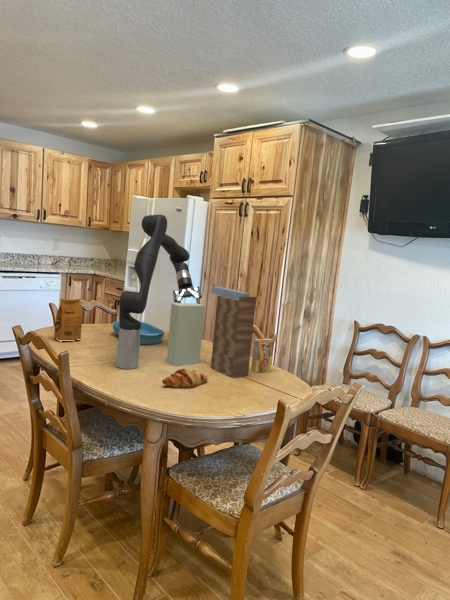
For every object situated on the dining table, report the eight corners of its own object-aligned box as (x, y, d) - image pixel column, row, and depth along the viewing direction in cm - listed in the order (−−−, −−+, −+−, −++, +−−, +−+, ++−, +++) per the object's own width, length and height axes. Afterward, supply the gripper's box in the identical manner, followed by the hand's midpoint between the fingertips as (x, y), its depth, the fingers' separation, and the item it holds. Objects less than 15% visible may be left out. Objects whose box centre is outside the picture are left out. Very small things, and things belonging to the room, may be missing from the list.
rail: (248, 300, 186) (249, 293, 186) (243, 300, 184) (244, 293, 184) (216, 293, 204) (217, 286, 203) (211, 293, 202) (212, 286, 201)
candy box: (266, 369, 204) (269, 338, 203) (271, 371, 201) (274, 340, 199) (250, 370, 200) (254, 338, 198) (255, 373, 196) (259, 340, 194)
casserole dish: (170, 345, 234) (171, 332, 233) (132, 348, 220) (133, 334, 219) (140, 331, 263) (141, 319, 262) (106, 332, 249) (106, 320, 248)
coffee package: (52, 338, 223) (54, 297, 220) (75, 337, 231) (77, 297, 228) (58, 343, 215) (60, 300, 212) (82, 341, 223) (85, 300, 220)
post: (247, 375, 191) (256, 297, 187) (232, 378, 185) (240, 297, 181) (225, 365, 203) (233, 291, 199) (210, 367, 198) (218, 291, 193)
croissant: (203, 387, 180) (199, 369, 182) (216, 383, 173) (212, 364, 175) (158, 393, 167) (155, 372, 170) (170, 388, 160) (167, 367, 162)
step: (199, 363, 204) (204, 305, 200) (174, 366, 195) (179, 305, 192) (191, 359, 209) (196, 303, 206) (166, 361, 200) (171, 303, 197)
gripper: (170, 278, 217) (175, 304, 209) (197, 274, 219) (203, 299, 211) (171, 287, 224) (176, 312, 215) (198, 282, 226) (203, 307, 217)
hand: (189, 306), depth 213 cm, fingers open, 8 cm apart
